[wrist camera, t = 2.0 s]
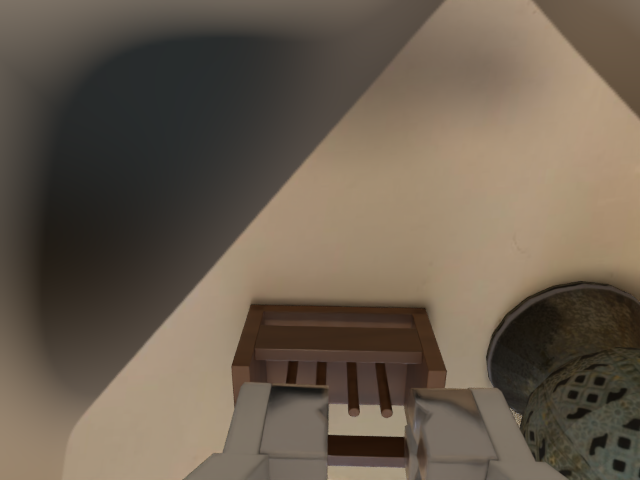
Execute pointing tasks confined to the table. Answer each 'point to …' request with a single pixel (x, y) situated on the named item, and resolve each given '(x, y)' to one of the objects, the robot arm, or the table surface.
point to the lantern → (574, 378)
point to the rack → (344, 364)
